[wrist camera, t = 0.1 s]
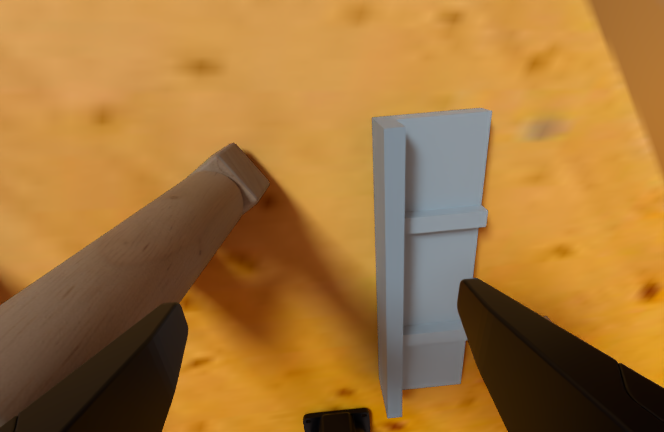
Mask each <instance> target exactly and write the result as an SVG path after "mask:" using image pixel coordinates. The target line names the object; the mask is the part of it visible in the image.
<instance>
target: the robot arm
mask: <svg viewBox="0 0 664 432" xmlns="http://www.w3.org/2000/svg"><path fill="white" fill-rule="evenodd" d="M457 310H458V314H459V316H460V319H461V322H462V325H463V328H464V331H465V334H466V336H467V339H468V342H469V345H470V348H471V351H472V354H473V357H474V359H475V362H476V365H477V367H478V369H479V371H480V374H481V376H482V378H483V380H484V382H485V384H486V386H487V388H488V391H489V393H490V395H491V397H492V399H493V401H494V403H495V405H496V407H497V409H498V412H499V414H500V416H501V418H502V420H503V422H504V424H505V426H506V428H507V430H508V432H664V388H663V387H661V386H659V385H658V384H656V383H654V382H652V381H651V380H649V379H647V378H645V377H644V376H642V375H640V374H638V373H637V372H635V371H633V370H632V369H630V368H628V367H627V366H625V365H623V364H622V363H617V361H616V360H615V359H613V358H611V357H610V356H608V355H606V354H605V353H603V352H601V351H600V350H598V349H596V348H594V347H593V346H591V345H589V344H588V343H586V342H584V341H583V340H581V339H579V338H578V337H576V336H574V335H573V334H571V333H569V332H568V331H566V330H564V329H562V328H561V327H559V326H557V325H556V324H554V323H552V322H551V321H549V320H547V319H546V318H544V317H542V316H541V315H539V314H537V313H536V312H534V311H532V310H531V309H529V308H527V307H525V306H524V305H522V304H520V303H519V302H517V301H515V300H514V299H512V298H510V297H509V296H507V295H505V294H504V293H502V292H500V291H499V290H497V289H495V288H493V287H492V286H490V285H488V284H487V283H485V282H483V281H482V280H480V279H478V278H469V279H463V280H461V282H460V286H459V292H458V299H457ZM187 336H188V325H187V322H186V319H185V316H184V313H183V310H182V307H181V305H180V304H179V303H177V302H171V303H163V304H161V305H159V306H158V307H156V308H155V309H154V310H153V311H151V312H150V313H149V314H147V315H146V316H145V317H143V318H142V319H141V320H139V321H138V322H137V323H136V324H134V325H133V326H132V327H130V328H129V329H128V330H126V331H125V332H124V333H123V334H121V335H120V336H119V337H117V338H116V339H115V340H113V341H112V342H111V343H109V344H108V345H107V346H106V347H104V348H103V349H102V350H100V351H99V352H98V353H96V354H95V355H94V356H93V357H91V358H90V359H89V360H87V361H86V362H85V363H83V364H82V365H81V366H79V367H78V368H77V369H76V370H74V371H73V372H72V373H70V374H69V375H68V376H66V377H65V378H64V379H63V380H61V381H60V382H59V383H57V384H56V385H55V386H53V387H52V388H51V389H49V390H48V391H47V392H46V393H44V394H43V395H42V396H40V397H39V398H38V399H36V400H35V401H34V402H32V403H31V404H30V405H29V406H27V407H26V408H25V409H23V410H22V411H21V412H20V413H19V415H18V416H14V417H13V418H11V419H10V420H9V421H8V422H6V423H5V424H4V425H2V426H1V427H0V432H162V429H163V426H164V423H165V420H166V417H167V414H168V411H169V409H170V406H171V403H172V399H173V396H174V393H175V389H176V385H177V381H178V377H179V372H180V368H181V363H182V359H183V354H184V350H185V345H186V341H187ZM303 424H304V430H305V432H370V419H369V411H368V409H366V408H363V409H353V410H344V411H334V412H325V413H315V414H307V415H305V416H304V417H303Z"/></svg>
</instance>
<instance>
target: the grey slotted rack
mask: <svg viewBox="0 0 664 432" xmlns="http://www.w3.org/2000/svg"><path fill="white" fill-rule="evenodd" d="M491 116H492V111H490V110H487V109H483V108H474V109H463V110H451V111H440V112H429V113H417V114H406V115H395V116H383V117H372V137H373V174H374V211H375V248H376V285H377V322H378V359H379V380H380V385H381V390H382V394H383V399H384V403H385V408H386V413H387V417H388V418H395V417H402V390H406V389H416V388H425V387H435V386H444V385H454V384H461V376H462V368H463V359H464V350H465V341H466V340H468V339H467V336H466V334H465V331H464V328H463V325H462V322H461V319H460V316H459V314H458V310H457V299H458V292H459V286H460V282H461V280H463V279H469V278H473V272H474V263H475V255H476V246H477V237H478V229H479V227H486V223H487V215H488V210H487V209H485V208H484V207H483V206H482V205H481V202H482V194H483V185H484V176H485V168H486V159H487V150H488V142H489V133H490V124H491Z"/></svg>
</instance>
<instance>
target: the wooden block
mask: <svg viewBox="0 0 664 432" xmlns="http://www.w3.org/2000/svg"><path fill="white" fill-rule="evenodd" d="M269 184H270V183H269V181H268V180H267V178H266V177H265V176H264V175H263V174H262V173H261V172H260V170H259V169H258V168H257V167H256V166H255V165H254V164H253V163H252V161H251V160H250V159H249V158H248V157H247V156H246V155H245V153H244V152H243V151H242V150H241V149H240V148H239V147H238V146H237V145H236V144H235V143H231V144H229V145H227V146H226V147H224V148H223V149H221V150H219V151H218V152H216V153H215V154H213V155H212V156H211V157H210V158H208V159H207V160H206V161H205V162H204V163H203V164H202V165H200V166H199V167H198V168H197V169H196V170H195V171H194V172H193V173H191V174H190V175H189V176H188V177H187V178H186V179H185V180H183V181H182V182H180V183H179V184H177V185H176V186H174V187H173V188H171V189H170V190H168V191H167V192H166V193H164V194H163V195H161V196H160V197H158V198H157V199H155V200H154V201H152V202H151V203H149V204H148V205H146V206H145V207H144V208H142V209H141V210H139V211H138V212H136V213H135V214H133V215H132V216H130V217H129V218H127V219H126V220H124V221H123V222H122V223H120V224H119V225H117V226H116V227H114V228H113V229H111V230H110V231H108V232H107V233H105V234H104V235H102V236H101V237H100V238H98V239H97V240H95V241H94V242H92V243H91V244H89V245H88V246H86V247H85V248H83V249H82V250H80V251H79V252H78V253H76V254H75V255H73V256H72V257H70V258H69V259H67V260H66V261H64V262H63V263H61V264H60V265H58V266H57V267H56V268H54V269H53V270H51V271H50V272H48V273H47V274H45V275H44V276H42V277H41V278H39V279H38V280H36V281H35V282H34V283H32V284H31V285H29V286H28V287H26V288H25V289H23V290H22V291H20V292H19V293H17V294H16V295H14V296H13V297H12V298H10V299H9V300H7V301H6V302H4V303H3V304H1V305H0V427H1V426H2V425H4V424H5V423H6V422H8V421H9V420H10V419H11V418H13V417H14V416H18V415H19V413H20V412H21V411H22V410H23V409H25V408H26V407H27V406H29V405H30V404H31V403H32V402H34V401H35V400H36V399H38V398H39V397H40V396H42V395H43V394H44V393H46V392H47V391H48V390H49V389H51V388H52V387H53V386H55V385H56V384H57V383H59V382H60V381H61V380H63V379H64V378H65V377H66V376H68V375H69V374H70V373H72V372H73V371H74V370H76V369H77V368H78V367H79V366H81V365H82V364H83V363H85V362H86V361H87V360H89V359H90V358H91V357H93V356H94V355H95V354H96V353H98V352H99V351H100V350H102V349H103V348H104V347H106V346H107V345H108V344H109V343H111V342H112V341H113V340H115V339H116V338H117V337H119V336H120V335H121V334H123V333H124V332H125V331H126V330H128V329H129V328H130V327H132V326H133V325H134V324H136V323H137V322H138V321H139V320H141V319H142V318H143V317H145V316H146V315H147V314H149V313H150V312H151V311H153V310H154V309H155V308H156V307H158V306H159V305H161V304H163V303H171V302H177V303H180V301H181V300H182V299H183V297H184V296H185V294H186V293H187V292H188V290H189V289H190V287H191V286H192V285H193V283H194V282H195V280H196V279H197V278H198V276H199V275H200V274H201V272H202V271H203V269H204V268H205V267H206V265H207V264H208V262H209V261H210V260H211V258H212V257H213V255H214V254H215V253H216V251H217V250H218V248H219V247H220V246H221V244H222V243H223V241H224V240H225V239H226V237H227V236H228V234H229V233H230V232H231V230H232V229H233V228H234V226H235V225H236V223H237V222H238V221H239V219H240V217H241V216H242V215H243V214H244V213H245V212H247V211H248V210H249V209H251V208H252V207H253V206H254V205H256V204H257V203H258V201H259V200H260V199H261V197H262V196H263V194H264V193H265V191H266V190H267V188H268V186H269Z"/></svg>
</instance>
